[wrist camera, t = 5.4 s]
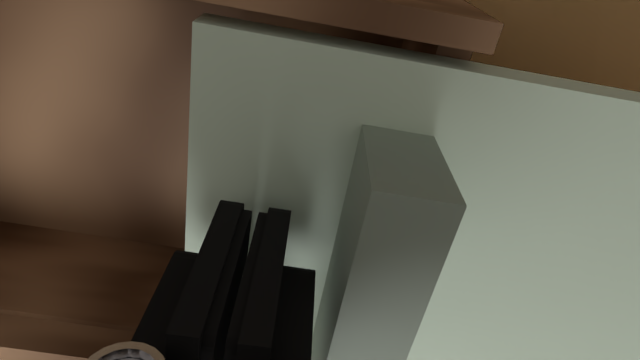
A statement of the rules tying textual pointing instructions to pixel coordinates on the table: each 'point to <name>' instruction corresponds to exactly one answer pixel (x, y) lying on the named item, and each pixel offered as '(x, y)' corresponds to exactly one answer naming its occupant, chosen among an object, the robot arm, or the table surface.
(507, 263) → the lid
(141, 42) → the walnut box
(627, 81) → the table surface
